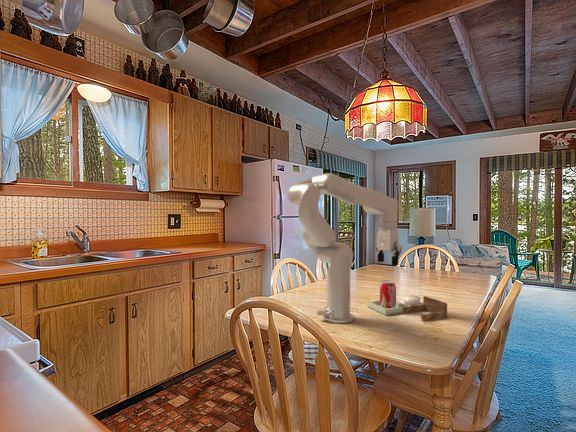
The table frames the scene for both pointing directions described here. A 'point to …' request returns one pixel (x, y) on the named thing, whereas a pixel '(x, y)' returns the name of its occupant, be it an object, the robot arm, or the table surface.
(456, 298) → the table surface
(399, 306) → the tray
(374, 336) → the table surface
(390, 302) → the soda can
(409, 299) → the cream rounded knob
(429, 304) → the cradle
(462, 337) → the table surface
